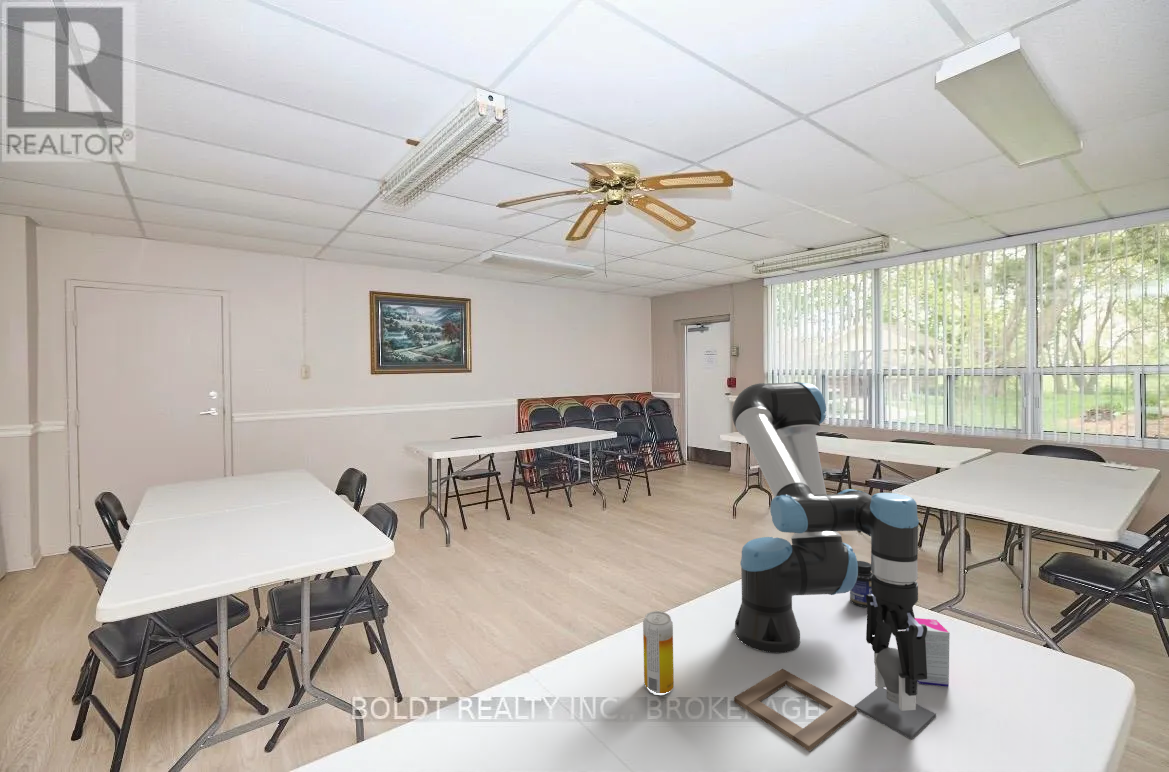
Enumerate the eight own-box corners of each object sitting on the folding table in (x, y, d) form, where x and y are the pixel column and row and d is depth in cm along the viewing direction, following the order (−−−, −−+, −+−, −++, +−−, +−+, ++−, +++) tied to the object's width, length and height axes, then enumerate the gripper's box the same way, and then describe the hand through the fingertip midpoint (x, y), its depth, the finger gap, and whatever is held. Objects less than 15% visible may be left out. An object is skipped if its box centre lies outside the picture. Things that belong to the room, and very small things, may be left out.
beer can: (676, 683, 106) (675, 613, 105) (669, 700, 100) (668, 627, 100) (649, 676, 108) (648, 608, 108) (640, 693, 103) (639, 621, 102)
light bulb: (920, 705, 94) (919, 653, 94) (901, 716, 91) (901, 662, 91) (888, 688, 99) (887, 638, 99) (869, 697, 96) (869, 646, 96)
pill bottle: (874, 610, 135) (874, 569, 135) (848, 604, 138) (848, 565, 138) (875, 600, 140) (875, 562, 140) (851, 595, 144) (850, 558, 143)
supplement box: (950, 687, 102) (950, 632, 102) (918, 684, 104) (918, 630, 103) (936, 670, 108) (936, 618, 108) (906, 668, 109) (906, 616, 109)
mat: (854, 708, 97) (854, 705, 97) (879, 689, 102) (879, 686, 102) (911, 739, 88) (911, 736, 88) (935, 716, 94) (935, 713, 94)
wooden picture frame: (733, 701, 99) (733, 696, 99) (782, 672, 108) (782, 668, 108) (809, 751, 86) (809, 745, 86) (857, 713, 95) (857, 708, 95)
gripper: (953, 598, 85) (953, 731, 86) (879, 557, 104) (880, 666, 105) (911, 601, 85) (912, 734, 85) (845, 559, 104) (846, 669, 104)
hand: (894, 697), depth 95 cm, fingers closed on light bulb, 6 cm apart
